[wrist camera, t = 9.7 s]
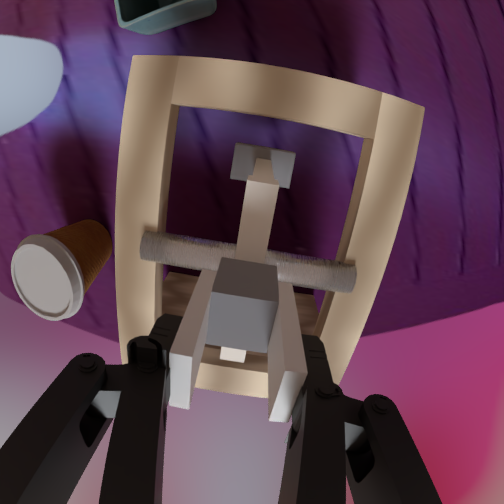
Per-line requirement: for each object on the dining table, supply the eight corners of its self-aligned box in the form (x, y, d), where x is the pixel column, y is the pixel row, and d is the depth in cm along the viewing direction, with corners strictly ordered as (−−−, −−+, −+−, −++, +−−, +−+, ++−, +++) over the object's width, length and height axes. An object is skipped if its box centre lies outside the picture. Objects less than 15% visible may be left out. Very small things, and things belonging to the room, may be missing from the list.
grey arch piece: (293, 151, 27) (331, 190, 12) (266, 285, 32) (266, 417, 17) (237, 142, 27) (201, 167, 12) (217, 277, 32) (182, 404, 17)
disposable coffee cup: (104, 195, 35) (47, 225, 24) (135, 264, 38) (93, 315, 27) (53, 221, 36) (-4, 255, 25) (82, 283, 40) (36, 330, 28)
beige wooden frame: (355, 115, 31) (432, 106, 15) (309, 308, 39) (331, 411, 24) (190, 86, 30) (126, 52, 14) (168, 285, 39) (119, 378, 23)
